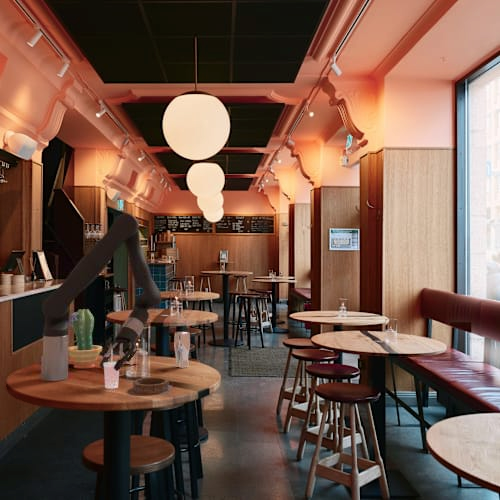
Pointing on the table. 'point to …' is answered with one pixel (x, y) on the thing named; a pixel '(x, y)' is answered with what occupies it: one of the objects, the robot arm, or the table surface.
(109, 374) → the beverage cup
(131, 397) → the table surface
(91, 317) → the potted cactus
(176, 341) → the beer glass
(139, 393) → the mat
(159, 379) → the bowl
